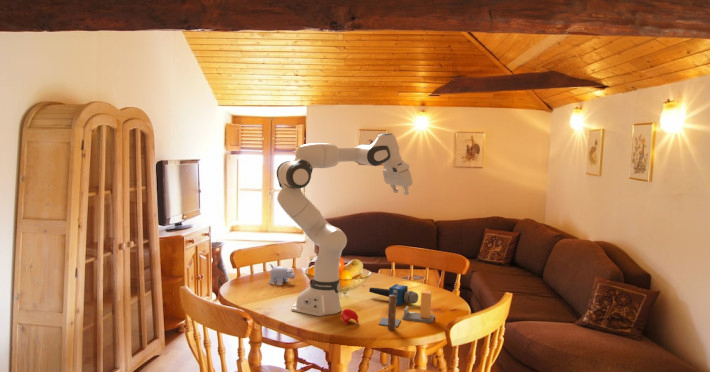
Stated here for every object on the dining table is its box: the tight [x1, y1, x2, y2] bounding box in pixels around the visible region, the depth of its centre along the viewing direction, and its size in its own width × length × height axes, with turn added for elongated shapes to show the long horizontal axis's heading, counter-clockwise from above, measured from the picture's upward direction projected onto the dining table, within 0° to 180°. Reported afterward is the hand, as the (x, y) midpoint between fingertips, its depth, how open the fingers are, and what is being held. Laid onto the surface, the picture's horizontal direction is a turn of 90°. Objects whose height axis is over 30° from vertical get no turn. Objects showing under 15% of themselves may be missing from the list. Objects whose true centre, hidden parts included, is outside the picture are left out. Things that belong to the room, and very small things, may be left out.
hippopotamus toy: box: [268, 263, 296, 286], centre depth 271 cm, size 11×15×10 cm
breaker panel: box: [401, 305, 435, 324], centre depth 221 cm, size 13×8×4 cm, turn 76°
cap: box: [340, 308, 359, 326], centre depth 212 cm, size 8×6×6 cm
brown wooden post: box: [387, 295, 397, 331], centre depth 206 cm, size 3×3×14 cm
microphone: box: [369, 283, 419, 307], centre depth 244 cm, size 8×8×25 cm
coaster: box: [378, 317, 402, 328], centre depth 214 cm, size 8×8×1 cm
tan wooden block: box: [420, 289, 433, 319], centre depth 220 cm, size 4×4×11 cm
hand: (401, 193), depth 239 cm, fingers open, 8 cm apart
